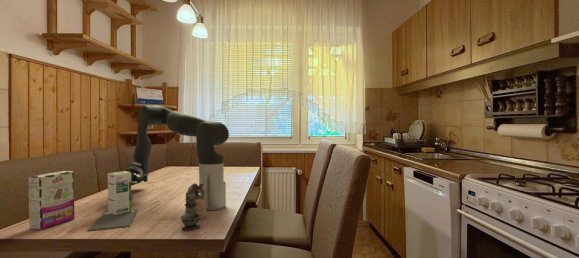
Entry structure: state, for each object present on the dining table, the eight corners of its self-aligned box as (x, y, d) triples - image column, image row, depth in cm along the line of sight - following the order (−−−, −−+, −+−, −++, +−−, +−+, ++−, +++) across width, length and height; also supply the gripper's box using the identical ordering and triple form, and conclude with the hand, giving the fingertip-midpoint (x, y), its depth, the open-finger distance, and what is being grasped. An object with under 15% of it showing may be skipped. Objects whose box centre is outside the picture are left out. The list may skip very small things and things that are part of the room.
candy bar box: (62, 218, 100) (62, 170, 99) (75, 219, 99) (74, 171, 98) (27, 229, 89) (27, 175, 88) (40, 230, 88) (40, 176, 87)
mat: (104, 212, 106) (104, 211, 106) (138, 209, 110) (138, 208, 110) (87, 231, 87) (87, 229, 87) (129, 226, 91) (129, 225, 91)
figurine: (189, 215, 103) (189, 181, 103) (208, 215, 103) (208, 181, 103) (180, 221, 96) (180, 185, 96) (202, 221, 96) (202, 185, 96)
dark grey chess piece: (180, 226, 91) (180, 188, 91) (199, 223, 93) (199, 186, 93) (181, 232, 86) (181, 192, 86) (201, 229, 88) (201, 190, 88)
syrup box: (115, 215, 101) (114, 173, 101) (107, 212, 104) (107, 172, 104) (131, 211, 105) (131, 171, 105) (124, 209, 109) (124, 170, 109)
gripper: (114, 167, 128) (105, 173, 113) (149, 166, 133) (145, 171, 118) (114, 184, 128) (105, 192, 113) (149, 182, 133) (145, 189, 118)
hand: (125, 181), depth 115 cm, fingers open, 8 cm apart
